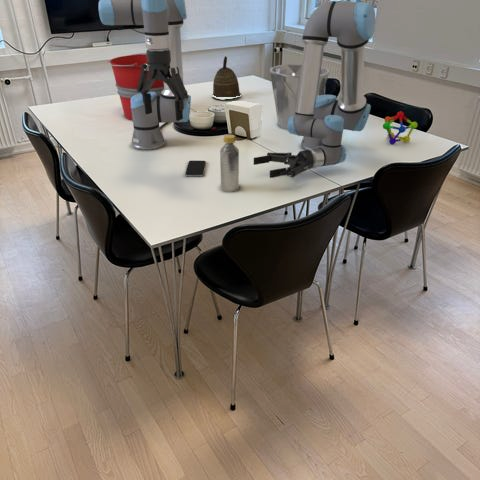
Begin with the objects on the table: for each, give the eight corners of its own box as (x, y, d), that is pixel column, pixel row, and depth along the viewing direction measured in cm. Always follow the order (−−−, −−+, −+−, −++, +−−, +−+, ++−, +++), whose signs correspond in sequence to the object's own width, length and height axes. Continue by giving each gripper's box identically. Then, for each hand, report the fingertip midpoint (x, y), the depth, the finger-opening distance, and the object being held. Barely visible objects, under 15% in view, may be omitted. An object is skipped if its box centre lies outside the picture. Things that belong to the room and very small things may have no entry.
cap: (237, 141, 158) (237, 136, 157) (229, 144, 156) (229, 138, 155) (229, 139, 160) (229, 133, 159) (221, 141, 158) (221, 136, 157)
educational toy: (377, 146, 209) (379, 114, 202) (384, 138, 219) (386, 107, 211) (411, 149, 202) (415, 116, 195) (417, 141, 212) (420, 109, 204)
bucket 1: (123, 105, 263) (116, 51, 247) (182, 106, 262) (179, 52, 247) (107, 123, 234) (97, 63, 218) (173, 124, 233) (168, 64, 217)
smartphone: (184, 174, 176) (189, 160, 189) (184, 176, 176) (189, 161, 189) (203, 175, 176) (206, 160, 188) (203, 176, 176) (206, 162, 189)
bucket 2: (296, 138, 215) (301, 78, 201) (255, 124, 234) (256, 68, 219) (335, 125, 232) (342, 70, 217) (294, 113, 251) (297, 61, 236)
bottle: (242, 188, 167) (242, 137, 157) (229, 193, 163) (229, 141, 153) (230, 182, 172) (229, 133, 161) (217, 187, 168) (216, 137, 157)
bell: (227, 105, 294) (202, 96, 282) (238, 66, 289) (213, 55, 277) (243, 108, 280) (217, 98, 268) (255, 66, 275) (229, 55, 263)
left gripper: (120, 47, 142) (129, 113, 153) (181, 54, 131) (185, 125, 142) (137, 44, 148) (144, 108, 159) (197, 51, 136) (199, 119, 147)
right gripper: (326, 179, 167) (277, 189, 160) (293, 157, 187) (247, 165, 179) (328, 161, 163) (278, 170, 156) (294, 140, 183) (247, 147, 175)
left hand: (163, 116), depth 150 cm, fingers open, 13 cm apart
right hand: (261, 167), depth 167 cm, fingers open, 13 cm apart
